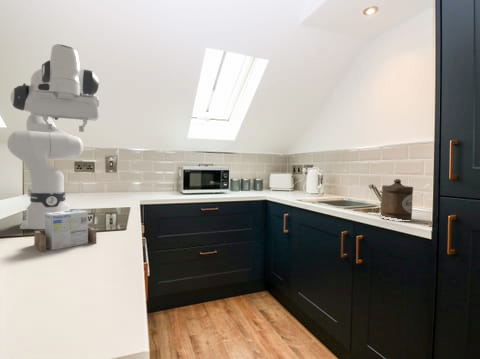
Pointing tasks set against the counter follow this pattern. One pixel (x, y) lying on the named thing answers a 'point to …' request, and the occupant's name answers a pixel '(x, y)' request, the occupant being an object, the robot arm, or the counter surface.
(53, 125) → the robot arm
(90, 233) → the shelf bay
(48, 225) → the light bulb box
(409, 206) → the wooden container
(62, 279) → the counter surface
